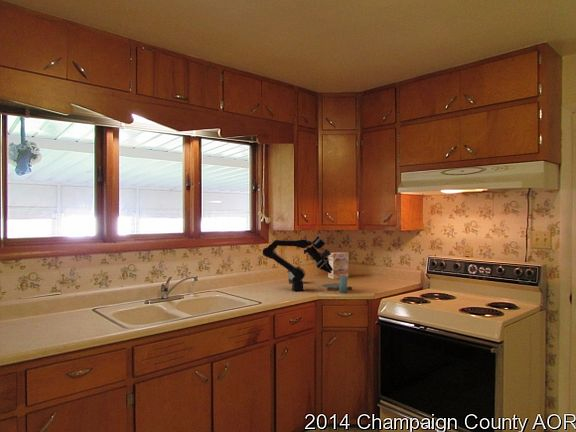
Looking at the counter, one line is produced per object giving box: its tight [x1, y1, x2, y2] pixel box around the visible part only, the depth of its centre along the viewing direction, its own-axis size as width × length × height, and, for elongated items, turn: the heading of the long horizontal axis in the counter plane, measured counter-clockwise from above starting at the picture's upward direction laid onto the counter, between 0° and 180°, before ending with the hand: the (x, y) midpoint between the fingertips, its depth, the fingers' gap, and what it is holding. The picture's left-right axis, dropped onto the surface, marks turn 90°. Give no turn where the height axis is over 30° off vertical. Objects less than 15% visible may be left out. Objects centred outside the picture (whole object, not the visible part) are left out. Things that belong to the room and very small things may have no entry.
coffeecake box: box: [327, 251, 350, 280], centre depth 311 cm, size 15×7×20 cm, turn 119°
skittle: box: [338, 276, 348, 294], centre depth 254 cm, size 5×5×10 cm
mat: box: [321, 282, 339, 288], centre depth 274 cm, size 12×12×1 cm
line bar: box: [326, 285, 353, 292], centre depth 261 cm, size 16×2×2 cm, turn 96°
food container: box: [286, 269, 303, 285], centre depth 287 cm, size 12×6×10 cm, turn 84°
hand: (331, 271), depth 256 cm, fingers open, 9 cm apart
